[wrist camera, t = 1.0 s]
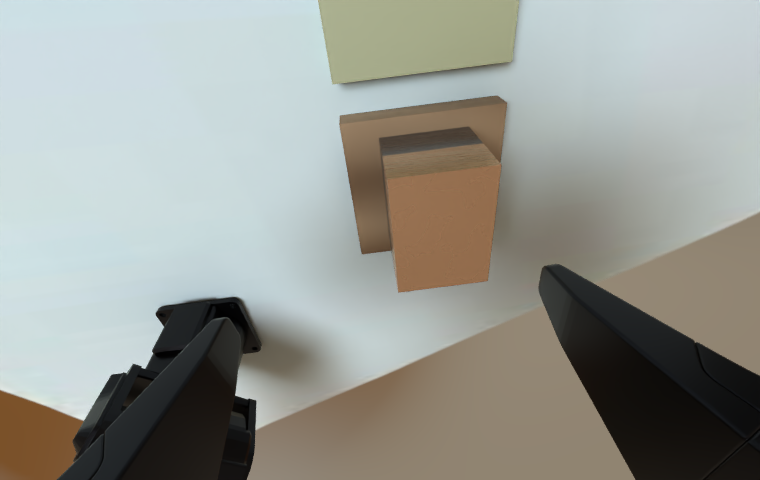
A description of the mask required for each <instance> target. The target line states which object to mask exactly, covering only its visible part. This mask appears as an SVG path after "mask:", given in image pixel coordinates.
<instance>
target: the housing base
mask: <svg viewBox="0 0 760 480" xmlns="http://www.w3.org/2000/svg"><path fill="white" fill-rule="evenodd" d="M481 143H483V142H482V141H481V140H480V139H479V138H478V136H477V135H476V134H475V133H474V132H473V131H472V129H471V128H470V127H469V126H467V127H459V128H452V129H444V130H436V131H428V132H420V133H413V134H405V135H397V136H389V137H381V138H379V146H380V155H381V164H382V174H383V183H384V193H385V202H386V211H387V221H388V230H389V239H390V245H391V251H392V244H391V234H390V225H389V215H388V205H387V195H386V186H385V176H384V166H383V157H382V156H387V155H395V154H403V153H411V152H419V151H426V150H434V149H442V148H450V147H458V146H466V145H473V144H481ZM392 257H393V254H392Z"/></svg>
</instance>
